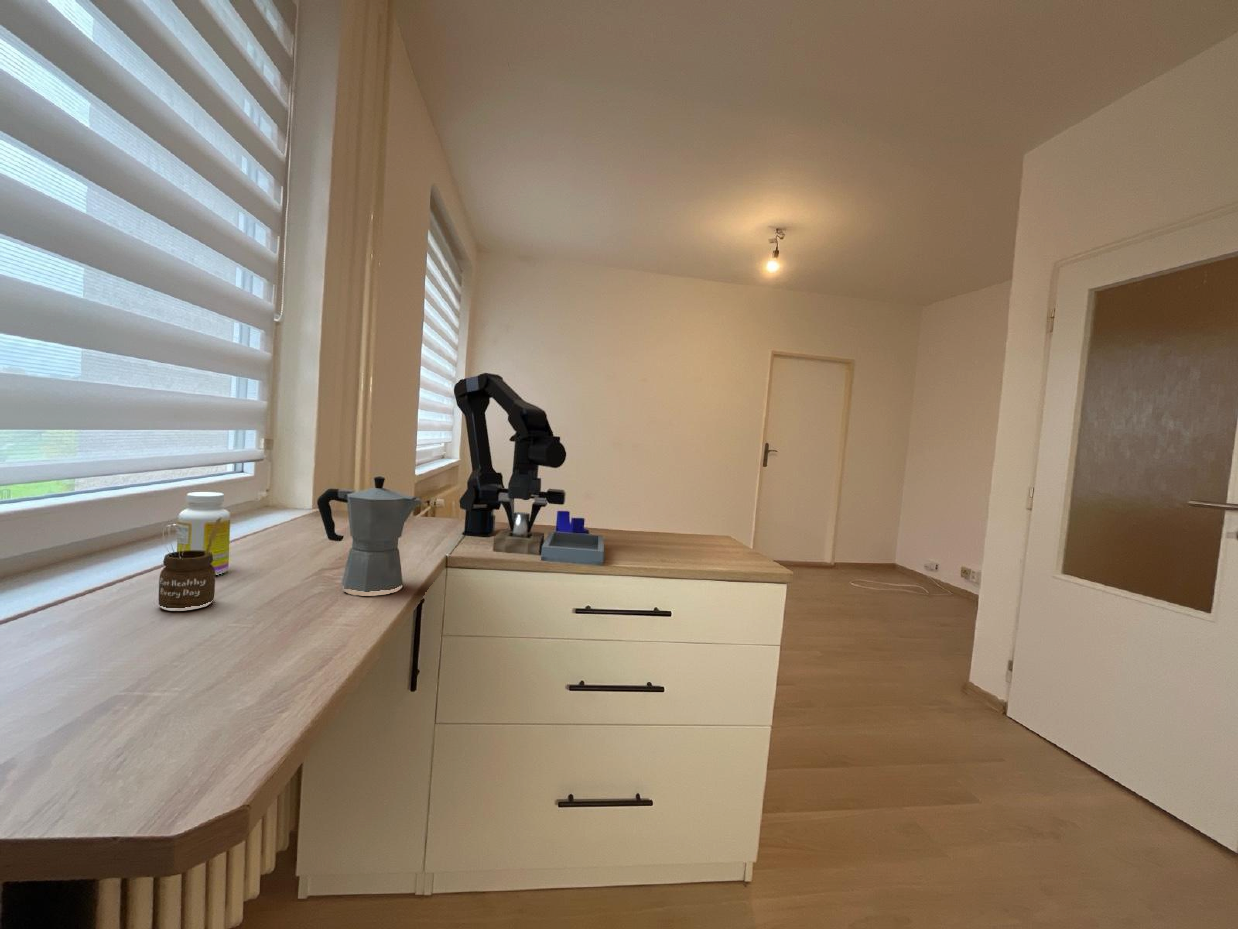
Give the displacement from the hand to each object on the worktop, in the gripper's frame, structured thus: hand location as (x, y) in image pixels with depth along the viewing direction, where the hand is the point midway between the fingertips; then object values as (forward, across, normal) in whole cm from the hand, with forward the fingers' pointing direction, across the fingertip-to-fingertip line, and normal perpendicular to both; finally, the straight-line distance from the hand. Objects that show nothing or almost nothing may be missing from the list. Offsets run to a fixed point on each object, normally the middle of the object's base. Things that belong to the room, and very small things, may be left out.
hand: (520, 531), depth 125 cm
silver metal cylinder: (+4, 0, 0) cm, 4 cm away
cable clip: (+4, +11, +18) cm, 22 cm away
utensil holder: (+4, -37, -50) cm, 62 cm away
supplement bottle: (+4, -45, -36) cm, 58 cm away
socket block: (+4, 0, 0) cm, 4 cm away
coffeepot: (+4, -19, -37) cm, 42 cm away
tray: (+4, +12, -1) cm, 13 cm away
